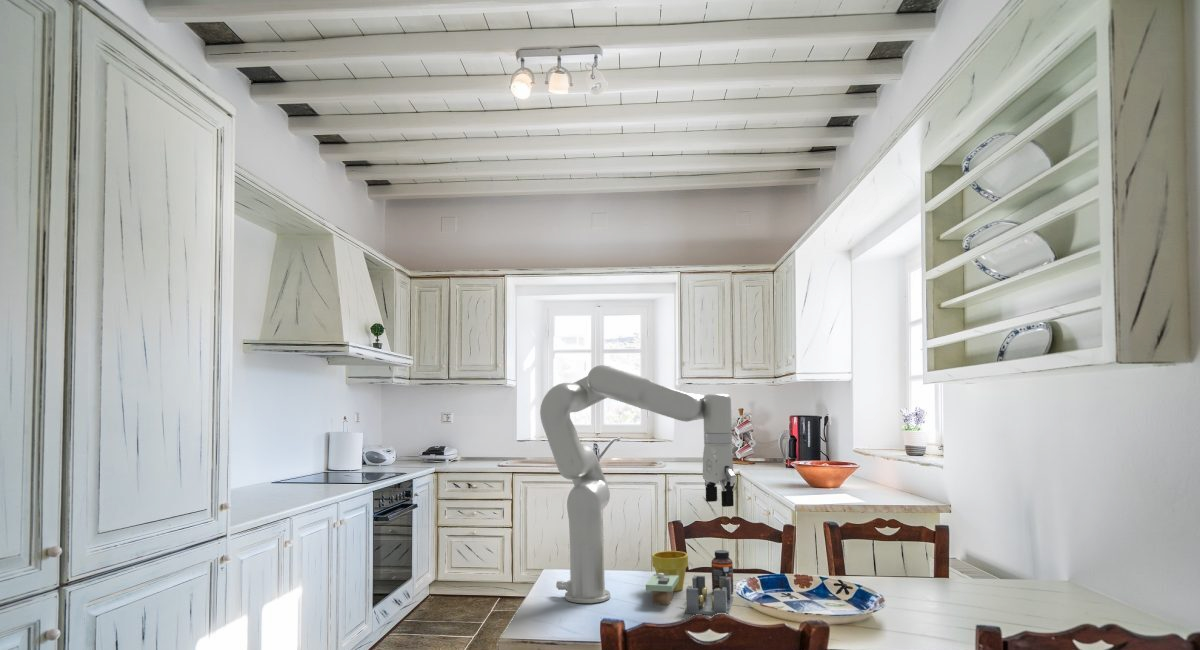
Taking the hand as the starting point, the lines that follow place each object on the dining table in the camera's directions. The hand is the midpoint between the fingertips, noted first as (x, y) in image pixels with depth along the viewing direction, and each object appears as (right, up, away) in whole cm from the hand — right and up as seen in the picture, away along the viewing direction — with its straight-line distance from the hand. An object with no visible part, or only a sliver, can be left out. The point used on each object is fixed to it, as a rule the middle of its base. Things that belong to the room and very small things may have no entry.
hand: (719, 503), depth 206 cm
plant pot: (-12, -28, +15) cm, 34 cm away
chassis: (-3, -26, -4) cm, 27 cm away
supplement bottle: (+3, -28, +10) cm, 29 cm away
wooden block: (-15, -27, +2) cm, 31 cm away
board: (-15, -23, +3) cm, 27 cm away
